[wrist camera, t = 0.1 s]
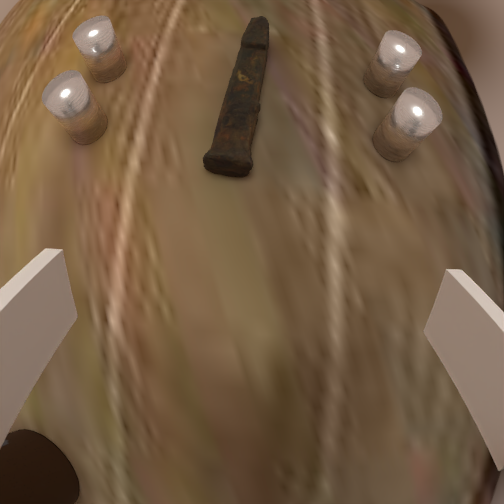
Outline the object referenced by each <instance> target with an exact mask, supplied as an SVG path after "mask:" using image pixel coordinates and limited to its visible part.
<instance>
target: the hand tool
mask: <svg viewBox="0 0 504 504" xmlns="http://www.w3.org/2000/svg"><path fill="white" fill-rule="evenodd" d="M268 47H269V23H268V20H267V19H266V18H265V17H263V16H260V17H257V18H252V19H251V21H250V23H249V24H248V26H247V28H246V31H245V33H244V34H243V36H242V40H241V48H240V51H239V53H238V57H237V60H236V64H235V67H234V69H233V73H232V76H231V78H230V81H229V85H228V88H227V91H226V95H225V98H224V102H223V105H222V109H221V112H220V115H219V119H218V123H217V126H216V130H215V135H214V139H213V143H212V146H211V149H210V150H209V151H208V152H207V153H206V154H205V155H204V157H203V163H204V167H205V168H206V169H208V170H210V171H211V172H213V173H219V174H223V175H226V176H235V177H236V176H246V175H248V174H249V171H250V170H251V169H252V167H253V161H252V158H251V151H250V146H251V144H252V139H253V136H254V131H255V126H256V124H257V120H258V119H257V115H258V113H259V111H260V104H259V98H260V92H261V85H262V81H263V76H264V70H265V65H266V61H267V50H268Z"/></svg>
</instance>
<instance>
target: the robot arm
mask: <svg viewBox="0 0 504 504" xmlns="http://www.w3.org/2000/svg"><path fill="white" fill-rule="evenodd" d="M77 317H78V315H77V311H76V307H75V304H74V300H73V296H72V291H71V287H70V283H69V278H68V274H67V269H66V264H65V259H64V254H63V250H62V249H47V248H45V249H44V250H43V251H42V252H41V253H40V254H38V255H37V256H36V257H35V258H34V259H33V260H32V261H30V262H29V263H28V264H27V265H26V266H25V267H24V268H23V269H22V270H20V271H19V272H18V273H17V274H16V275H15V276H14V277H13V278H12V279H11V280H10V281H9V282H8V283H7V284H5V285H4V286H3V287H2V288H1V289H0V448H1V446H2V444H3V442H4V440H5V438H6V436H7V434H8V432H9V430H10V428H11V427H12V425H13V423H14V421H15V419H16V417H17V415H18V413H19V412H20V410H21V408H22V406H23V404H24V403H25V401H26V399H27V397H28V396H29V394H30V392H31V390H32V389H33V387H34V385H35V383H36V382H37V380H38V378H39V377H40V375H41V373H42V372H43V370H44V368H45V367H46V365H47V364H48V362H49V360H50V359H51V357H52V356H53V354H54V352H55V351H56V349H57V348H58V346H59V345H60V343H61V341H62V340H63V338H64V337H65V335H66V334H67V332H68V331H69V329H70V328H71V326H72V325H73V323H74V322H75V320H76V319H77ZM423 332H424V334H425V336H426V337H427V339H428V340H429V342H430V344H431V345H432V347H433V349H434V350H435V352H436V353H437V355H438V357H439V358H440V360H441V362H442V363H443V365H444V367H445V369H446V370H447V372H448V374H449V375H450V377H451V379H452V381H453V382H454V384H455V386H456V388H457V389H458V391H459V393H460V395H461V397H462V398H463V400H464V402H465V404H466V406H467V408H468V410H469V411H470V413H471V415H472V417H473V419H474V421H475V423H476V425H477V427H478V429H479V431H480V433H481V435H482V437H483V439H484V441H485V443H486V445H487V447H488V449H489V451H490V453H491V455H492V458H493V460H494V462H495V464H496V466H497V469H498V471H500V470H502V469H504V312H503V311H502V310H501V309H500V308H499V307H498V306H497V305H496V304H495V303H494V302H493V301H492V300H491V299H490V298H489V297H488V296H487V295H486V293H485V292H484V291H483V290H482V289H481V288H480V287H479V286H478V285H477V284H476V283H475V282H474V281H473V280H472V279H471V278H470V277H469V276H468V275H466V274H465V273H464V272H463V271H462V270H456V269H446V271H445V274H444V277H443V280H442V283H441V286H440V289H439V292H438V295H437V297H436V300H435V303H434V305H433V308H432V311H431V313H430V316H429V318H428V321H427V324H426V326H425V328H424V331H423Z"/></svg>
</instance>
